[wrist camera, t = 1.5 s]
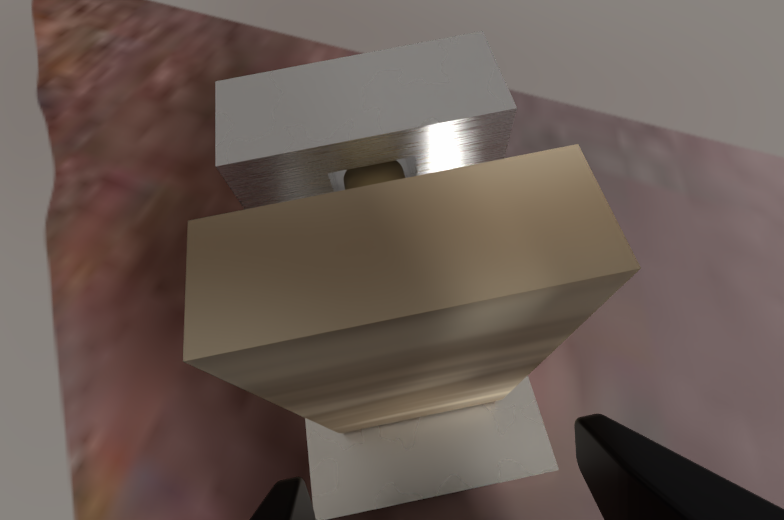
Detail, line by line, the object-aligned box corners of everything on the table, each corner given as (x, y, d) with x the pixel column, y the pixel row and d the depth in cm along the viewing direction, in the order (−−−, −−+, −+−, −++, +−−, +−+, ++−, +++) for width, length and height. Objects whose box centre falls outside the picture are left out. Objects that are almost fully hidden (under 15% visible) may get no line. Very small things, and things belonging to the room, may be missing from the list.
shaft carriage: (502, 399, 18) (640, 267, 6) (339, 433, 18) (182, 361, 6) (452, 230, 22) (482, -43, 10) (317, 257, 22) (195, 9, 10)
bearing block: (555, 470, 18) (675, 467, 9) (317, 521, 17) (215, 565, 9) (462, 185, 24) (482, 30, 16) (289, 219, 24) (215, 81, 16)
